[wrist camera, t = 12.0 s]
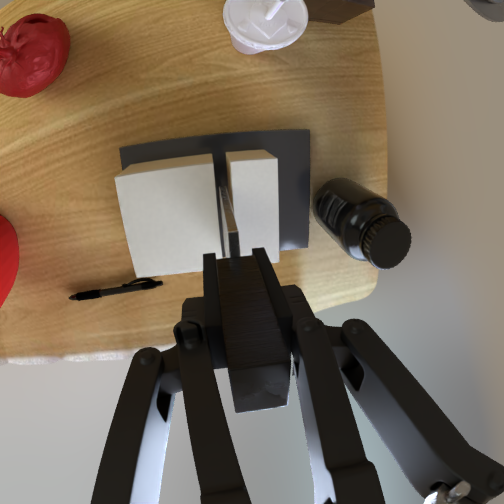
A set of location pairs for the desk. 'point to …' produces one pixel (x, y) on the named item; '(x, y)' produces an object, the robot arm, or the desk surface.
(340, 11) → the knife block
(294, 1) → the smoothie
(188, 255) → the cake
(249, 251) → the cream rectangular block
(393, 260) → the supplement bottle
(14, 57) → the pomegranate
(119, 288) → the pen
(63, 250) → the desk surface
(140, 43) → the desk surface
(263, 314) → the knife
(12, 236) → the ceramic cup
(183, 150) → the cake board
